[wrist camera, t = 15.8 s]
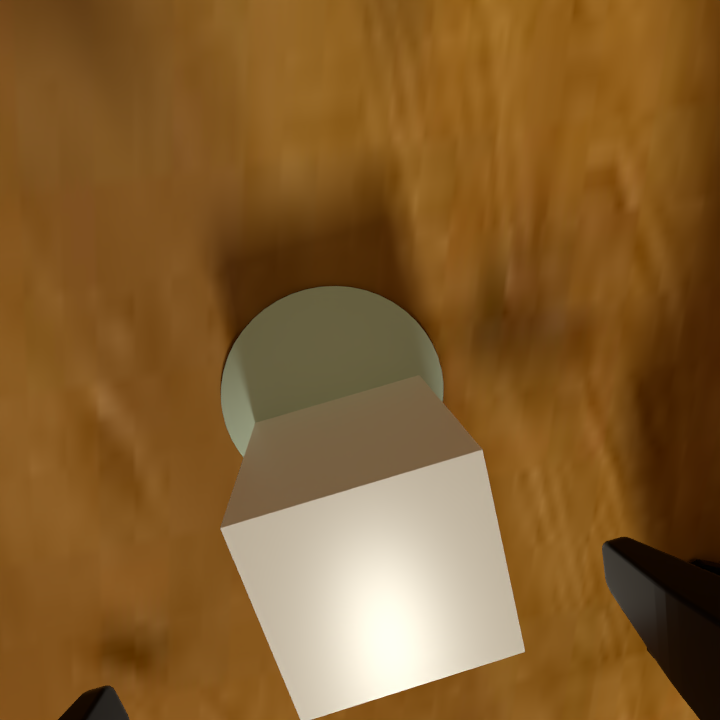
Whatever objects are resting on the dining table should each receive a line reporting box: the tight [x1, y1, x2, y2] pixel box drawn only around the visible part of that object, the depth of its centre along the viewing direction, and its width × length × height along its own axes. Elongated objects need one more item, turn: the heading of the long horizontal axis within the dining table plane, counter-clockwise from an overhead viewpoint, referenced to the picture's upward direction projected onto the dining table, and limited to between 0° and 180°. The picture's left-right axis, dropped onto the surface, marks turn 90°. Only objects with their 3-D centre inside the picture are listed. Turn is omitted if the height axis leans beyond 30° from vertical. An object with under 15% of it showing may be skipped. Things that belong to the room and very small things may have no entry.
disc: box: [221, 286, 443, 457], centre depth 20 cm, size 10×10×1 cm
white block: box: [220, 375, 525, 720], centre depth 17 cm, size 8×8×8 cm
